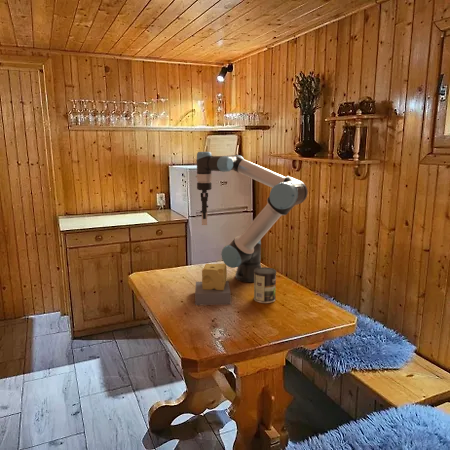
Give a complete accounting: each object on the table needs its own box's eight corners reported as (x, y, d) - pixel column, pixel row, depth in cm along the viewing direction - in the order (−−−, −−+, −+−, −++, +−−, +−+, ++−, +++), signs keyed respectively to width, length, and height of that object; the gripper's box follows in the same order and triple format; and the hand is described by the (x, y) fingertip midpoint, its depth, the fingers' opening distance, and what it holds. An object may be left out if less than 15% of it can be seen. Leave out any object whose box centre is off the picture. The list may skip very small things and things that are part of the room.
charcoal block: (228, 292, 201) (228, 281, 200) (230, 305, 185) (230, 293, 184) (196, 293, 200) (195, 281, 199) (195, 306, 185) (195, 293, 183)
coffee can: (276, 295, 195) (277, 267, 192) (274, 304, 185) (275, 274, 182) (255, 294, 197) (255, 266, 194) (252, 302, 187) (252, 273, 184)
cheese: (224, 291, 187) (223, 270, 185) (201, 290, 188) (200, 269, 186) (227, 283, 197) (226, 263, 195) (205, 282, 198) (204, 262, 196)
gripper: (197, 179, 222) (198, 217, 226) (196, 184, 197) (196, 227, 202) (211, 179, 222) (211, 217, 227) (211, 184, 198) (211, 227, 202)
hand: (204, 222), depth 214 cm, fingers open, 13 cm apart
